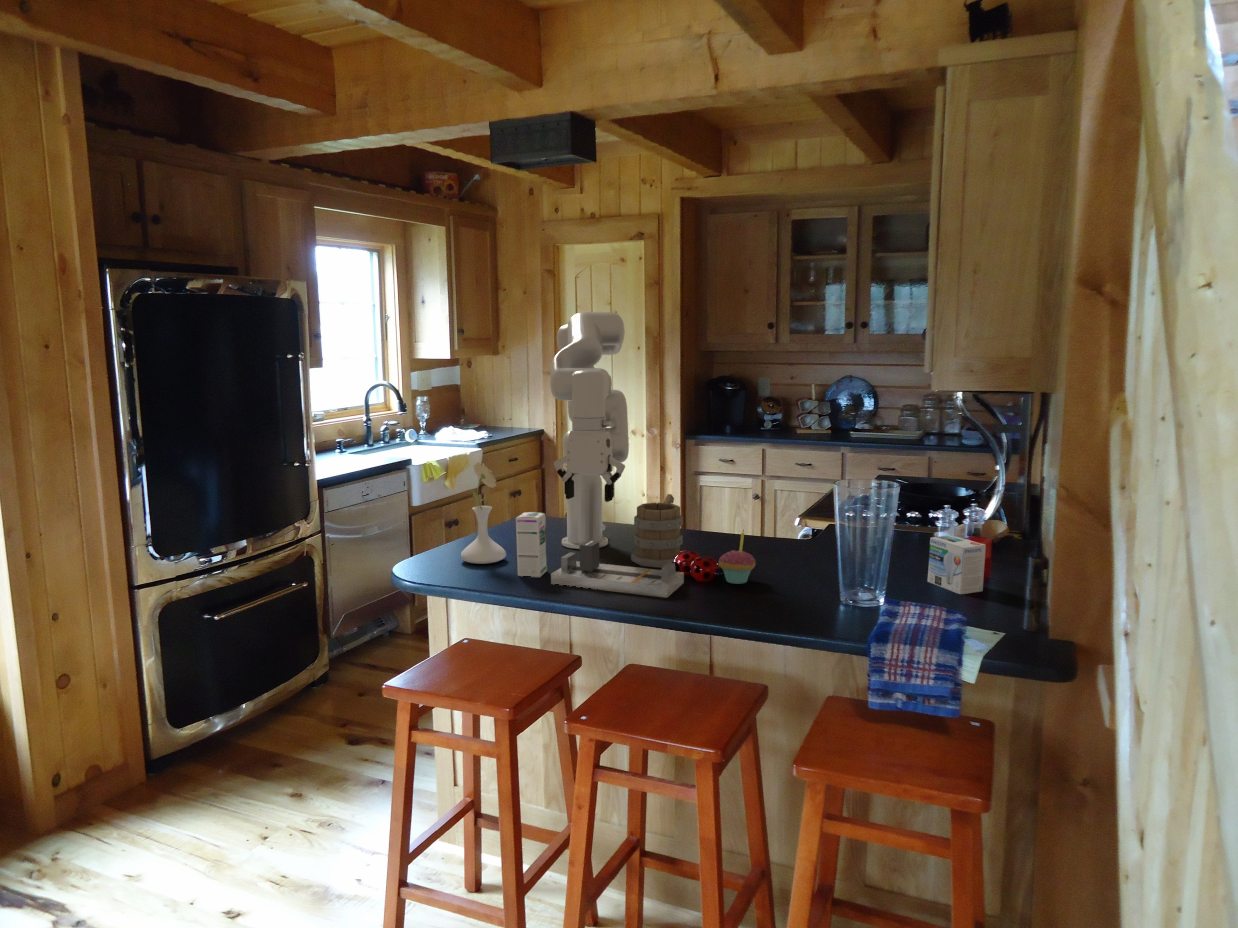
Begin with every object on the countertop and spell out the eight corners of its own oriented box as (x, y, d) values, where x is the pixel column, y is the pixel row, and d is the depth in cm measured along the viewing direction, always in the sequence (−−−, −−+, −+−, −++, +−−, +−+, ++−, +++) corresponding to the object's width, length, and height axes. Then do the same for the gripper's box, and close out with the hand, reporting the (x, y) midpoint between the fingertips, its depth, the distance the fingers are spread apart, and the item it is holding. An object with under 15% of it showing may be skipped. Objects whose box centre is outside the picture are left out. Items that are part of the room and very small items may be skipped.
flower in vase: (510, 565, 217) (508, 465, 213) (464, 569, 213) (461, 468, 209) (500, 552, 229) (497, 458, 225) (456, 556, 225) (453, 460, 221)
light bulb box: (926, 582, 202) (928, 536, 200) (948, 578, 205) (951, 533, 203) (961, 595, 192) (964, 547, 191) (984, 591, 195) (987, 544, 193)
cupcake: (733, 573, 209) (734, 524, 207) (762, 581, 203) (764, 530, 201) (710, 581, 203) (711, 530, 201) (740, 588, 197) (741, 536, 195)
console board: (573, 570, 212) (572, 548, 211) (683, 582, 201) (683, 559, 201) (551, 584, 201) (550, 560, 200) (667, 597, 190) (667, 573, 190)
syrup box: (540, 577, 206) (539, 517, 204) (516, 576, 207) (515, 516, 205) (547, 571, 211) (546, 512, 209) (523, 569, 212) (522, 511, 210)
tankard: (675, 569, 213) (675, 509, 210) (626, 564, 217) (626, 505, 215) (696, 550, 231) (697, 494, 229) (651, 546, 236) (651, 491, 233)
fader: (587, 565, 206) (587, 540, 205) (599, 566, 205) (599, 541, 204) (579, 570, 202) (579, 544, 201) (591, 571, 201) (591, 545, 200)
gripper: (630, 424, 198) (630, 499, 201) (561, 422, 205) (562, 494, 207) (617, 428, 191) (618, 505, 194) (546, 425, 198) (547, 499, 200)
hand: (589, 499), depth 200 cm, fingers open, 9 cm apart
